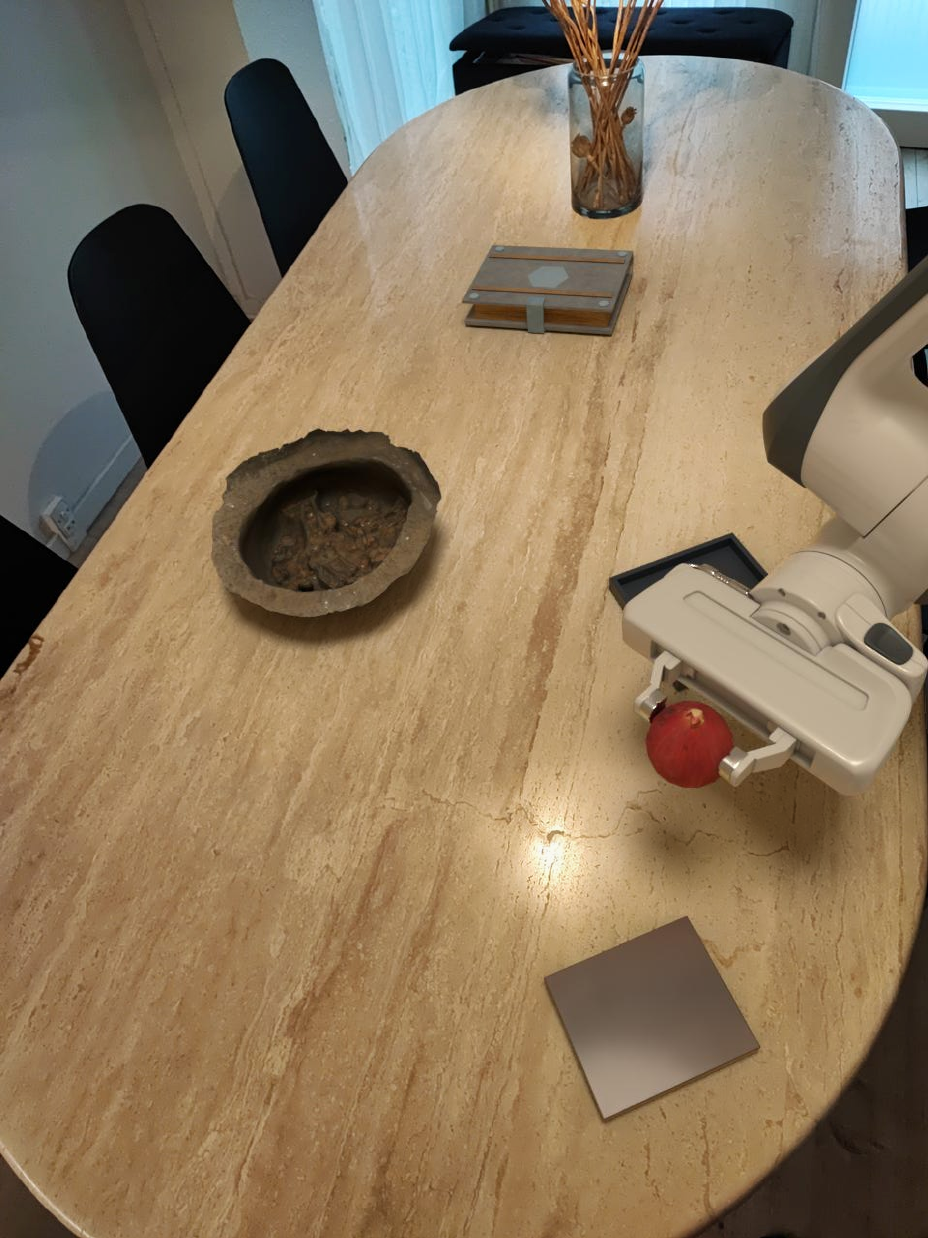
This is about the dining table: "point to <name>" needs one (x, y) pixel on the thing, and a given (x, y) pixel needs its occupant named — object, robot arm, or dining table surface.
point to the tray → (716, 553)
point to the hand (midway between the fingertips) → (683, 744)
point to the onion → (688, 744)
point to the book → (550, 289)
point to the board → (649, 1017)
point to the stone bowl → (323, 522)
